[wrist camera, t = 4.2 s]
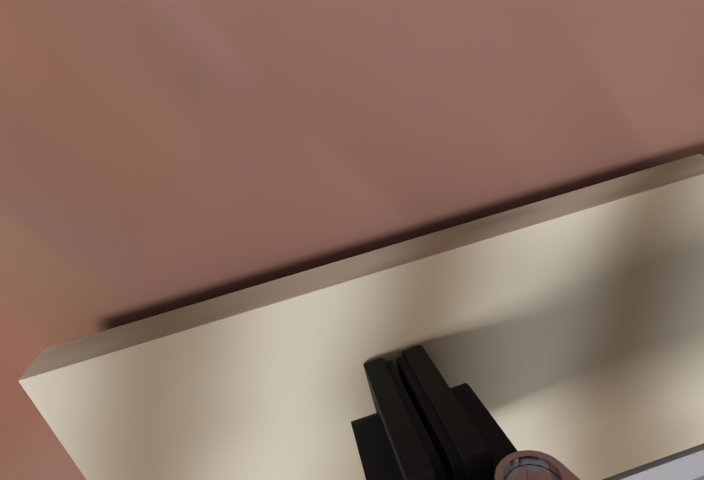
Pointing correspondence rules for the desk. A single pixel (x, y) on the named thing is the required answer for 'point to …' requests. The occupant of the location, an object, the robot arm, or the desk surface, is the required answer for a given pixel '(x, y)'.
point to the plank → (410, 331)
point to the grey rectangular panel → (669, 467)
